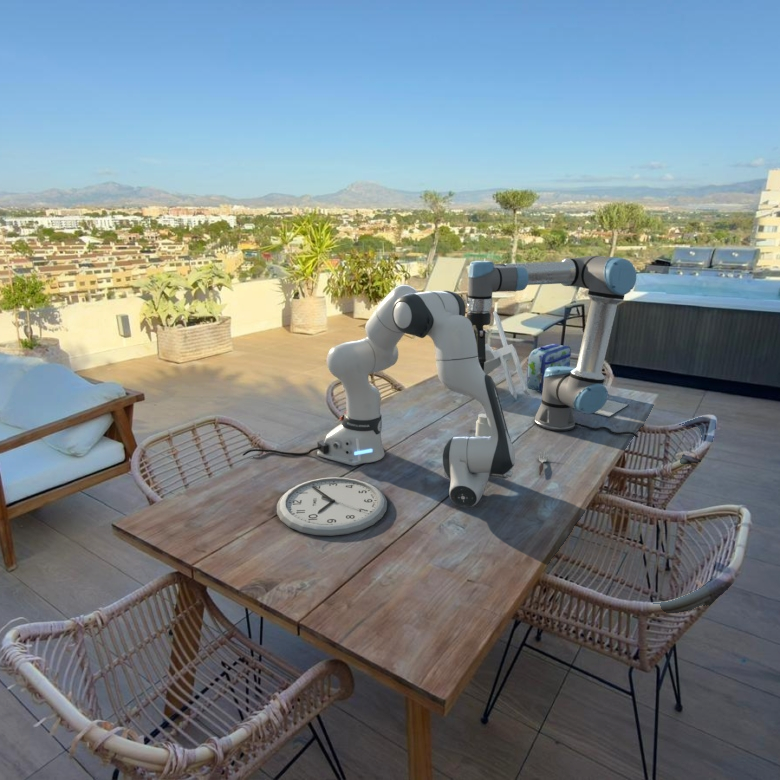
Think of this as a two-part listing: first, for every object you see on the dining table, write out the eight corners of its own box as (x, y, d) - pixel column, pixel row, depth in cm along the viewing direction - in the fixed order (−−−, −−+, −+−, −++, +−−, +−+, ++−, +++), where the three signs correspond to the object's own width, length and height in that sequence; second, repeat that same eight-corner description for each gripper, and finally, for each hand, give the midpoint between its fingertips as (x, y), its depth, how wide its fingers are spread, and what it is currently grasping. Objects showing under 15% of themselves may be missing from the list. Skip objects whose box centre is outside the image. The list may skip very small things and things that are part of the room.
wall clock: (392, 527, 129) (268, 531, 127) (391, 533, 130) (269, 537, 127) (383, 473, 158) (282, 475, 155) (383, 478, 158) (282, 480, 156)
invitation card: (608, 416, 214) (573, 407, 224) (608, 416, 214) (573, 408, 224) (628, 404, 229) (594, 396, 238) (628, 405, 229) (594, 397, 238)
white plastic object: (461, 429, 252) (437, 405, 227) (444, 352, 274) (420, 323, 250) (535, 404, 240) (518, 377, 215) (510, 326, 262) (492, 293, 237)
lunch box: (542, 396, 239) (547, 351, 232) (522, 391, 246) (526, 347, 240) (570, 385, 256) (575, 343, 250) (550, 380, 263) (554, 339, 257)
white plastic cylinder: (485, 469, 165) (489, 412, 160) (490, 476, 161) (495, 417, 155) (470, 470, 165) (474, 413, 159) (475, 477, 160) (480, 418, 154)
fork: (535, 475, 162) (535, 469, 161) (539, 455, 176) (540, 450, 175) (543, 477, 161) (544, 471, 160) (547, 456, 175) (548, 451, 175)
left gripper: (512, 467, 145) (517, 448, 157) (440, 456, 151) (451, 439, 164) (510, 488, 147) (515, 467, 159) (439, 476, 153) (450, 457, 166)
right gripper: (462, 305, 177) (459, 366, 183) (472, 318, 153) (469, 387, 159) (484, 305, 177) (480, 366, 183) (498, 318, 153) (493, 387, 159)
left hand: (482, 453), depth 161 cm, fingers open, 8 cm apart
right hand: (475, 376), depth 171 cm, fingers open, 13 cm apart
